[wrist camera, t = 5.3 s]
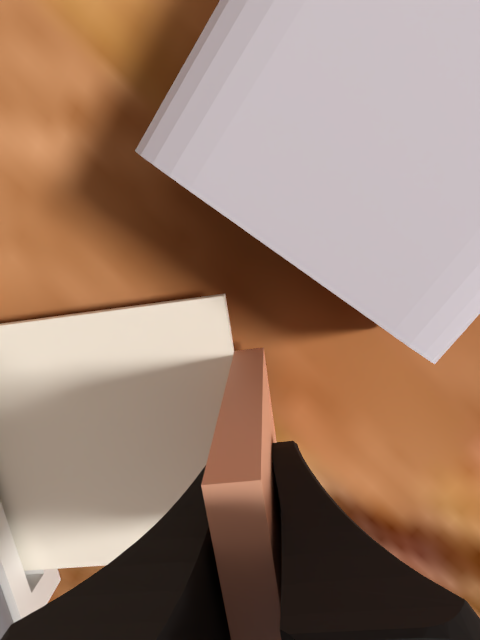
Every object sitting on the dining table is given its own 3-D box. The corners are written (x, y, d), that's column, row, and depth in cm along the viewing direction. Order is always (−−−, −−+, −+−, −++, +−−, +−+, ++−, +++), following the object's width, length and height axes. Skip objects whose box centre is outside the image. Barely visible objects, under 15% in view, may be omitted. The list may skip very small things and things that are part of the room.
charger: (750, -112, 10) (386, 326, 14) (487, -355, 10) (171, 173, 13) (1128, -373, 6) (446, 376, 9) (687, -874, 5) (121, 146, 9)
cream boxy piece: (255, 289, 13) (243, 365, 6) (290, 544, 15) (311, 809, 8) (-79, 334, 14) (-410, 440, 7) (1, 564, 16) (-191, 811, 9)
